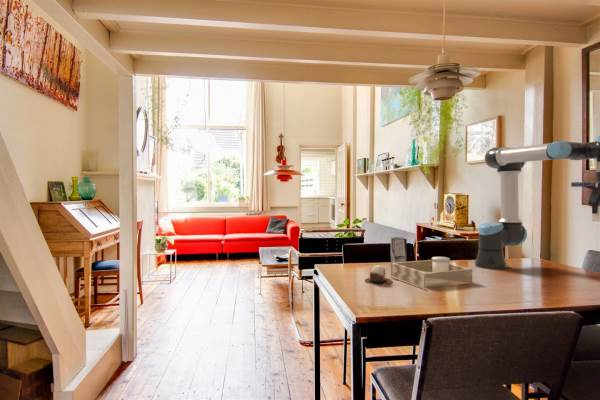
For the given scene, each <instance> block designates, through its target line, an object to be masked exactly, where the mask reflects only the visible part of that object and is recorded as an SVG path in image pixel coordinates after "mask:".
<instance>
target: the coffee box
mask: <svg viewBox="0 0 600 400" xmlns="http://www.w3.org/2000/svg"><path fill="white" fill-rule="evenodd" d="M407 241H408V240H407V238H404V237H399V236H398V237H397V236H396V237H390V264H391V263H397V262H407V252H408V250H407V245H408V244H407V243H408V242H407Z"/></svg>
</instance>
